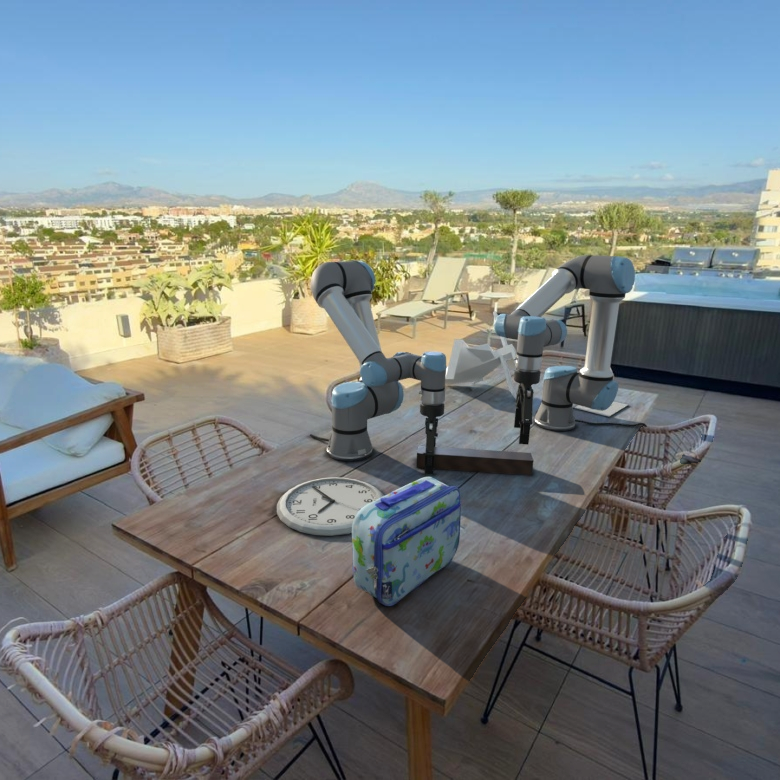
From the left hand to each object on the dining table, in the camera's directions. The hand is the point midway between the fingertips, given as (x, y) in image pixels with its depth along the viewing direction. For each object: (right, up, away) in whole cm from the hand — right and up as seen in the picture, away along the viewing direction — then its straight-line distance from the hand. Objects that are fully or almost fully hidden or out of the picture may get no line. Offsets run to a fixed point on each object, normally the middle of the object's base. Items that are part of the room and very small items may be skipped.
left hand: (430, 464), depth 168 cm
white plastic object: (+29, +23, +75) cm, 83 cm away
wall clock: (-29, -8, -25) cm, 39 cm away
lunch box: (-9, -17, -55) cm, 58 cm away
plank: (+14, -1, -1) cm, 14 cm away
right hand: (+28, +10, -7) cm, 30 cm away
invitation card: (+79, +17, +58) cm, 99 cm away
